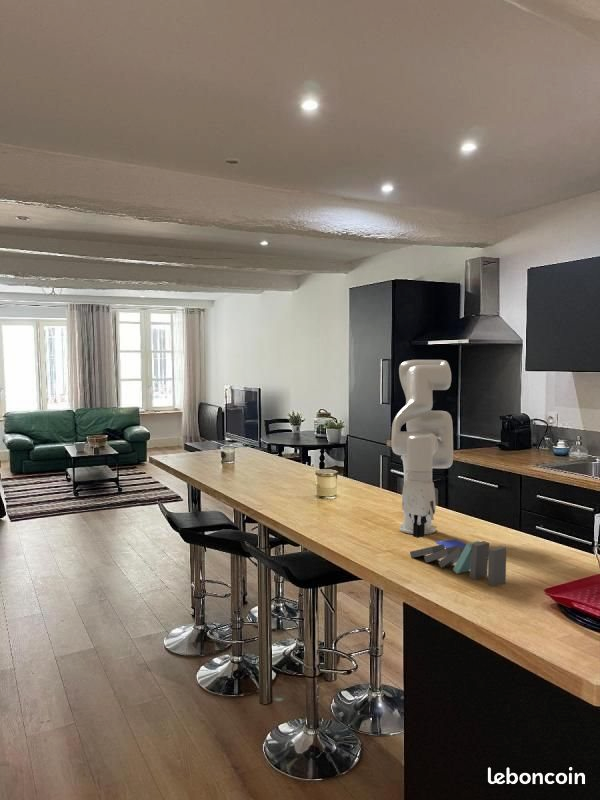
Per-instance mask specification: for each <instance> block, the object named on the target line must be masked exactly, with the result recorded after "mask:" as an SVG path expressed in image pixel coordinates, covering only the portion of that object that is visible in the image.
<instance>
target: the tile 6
mask: <svg viewBox="0 0 600 800" xmlns="http://www.w3.org/2000/svg"><path fill="white" fill-rule="evenodd" d="M506 577H507V547H505V546H503V545H499V546H494V547H492V548H489V552H488V568H487V585H488V586H491V587H492V588H493V587H497V586H499V585H503V584H506V580H507V579H506Z"/></svg>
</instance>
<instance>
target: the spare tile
mask: <svg viewBox="0 0 600 800" xmlns="http://www.w3.org/2000/svg"><path fill="white" fill-rule="evenodd" d="M478 542H480V540H477V541H476V540H475V541H473V542H468V543H466V546H465V548H464V550H463V552H462V554H461V555H460V557H459V559H458V561H457V562H456V563H455V564H454V566H453V568H452V570H453V572H454V573H456V574H457V573H459V574H462V573H461V572H463V573H466V572H469V571H470V565H471V550H472V544H474V543H478ZM468 570H469V571H468ZM465 571H466V572H465Z"/></svg>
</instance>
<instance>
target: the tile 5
mask: <svg viewBox="0 0 600 800" xmlns="http://www.w3.org/2000/svg"><path fill="white" fill-rule="evenodd" d="M489 549H490V542H487V541H485V540H483V541H482V540H481V541H479V542H478V543H474V544H472V550H471V565H470V570H469V579H471V580H473V579H474V580H473V581H477V580H480V578H481V579H483V577H484V578H487V577H488V552H489ZM486 576H487V577H486ZM476 579H477V580H476Z"/></svg>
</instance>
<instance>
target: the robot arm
mask: <svg viewBox="0 0 600 800" xmlns="http://www.w3.org/2000/svg"><path fill="white" fill-rule="evenodd" d="M398 374H399V380H400V384H401V388H402V390H403V393H404V396H405V405H404V406H403V407H402V408H401V409H400V410H399V411H398V412H397V413H396V415H395V417H394V419H393V421H392V423H391V425H392V426H391V450H392V453H393V454H395V455H397V456H401V458H402V465H403V487H402V495H401V511H403V523H401V524H400V525H398V528H399V531H400V532H402V533H406V534H409V535H412V537H413V538H417V539H420V538H423V537H425V535H431V534H433V533H436V529H437V528H436V526H434V525H433V524H432V521H433V520H434V519H435V518H434V515H435V513H436V504H437V503H436V492H435V491H436V490H435V484H434V481H433V469H449V468H451V466H452V465H453V462H454V429H453V425H454V424H453V419H452V415H451V414H450V413H449V412H448V411H446V410H445V411H444V410H432V409H433V406H434V405H433V404H434V401H433V391H447V390H449V388H450V387H451V383H452V371H451V367H450V364H449V362H448V361H447V360H445V359H444V360H443V359H411V360H409V359H408V360H405V361H403V362H401V363H400V364H399V368H398ZM405 424H406V425H405ZM403 425H405V426H406V431H401V428H402V426H403Z"/></svg>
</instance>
